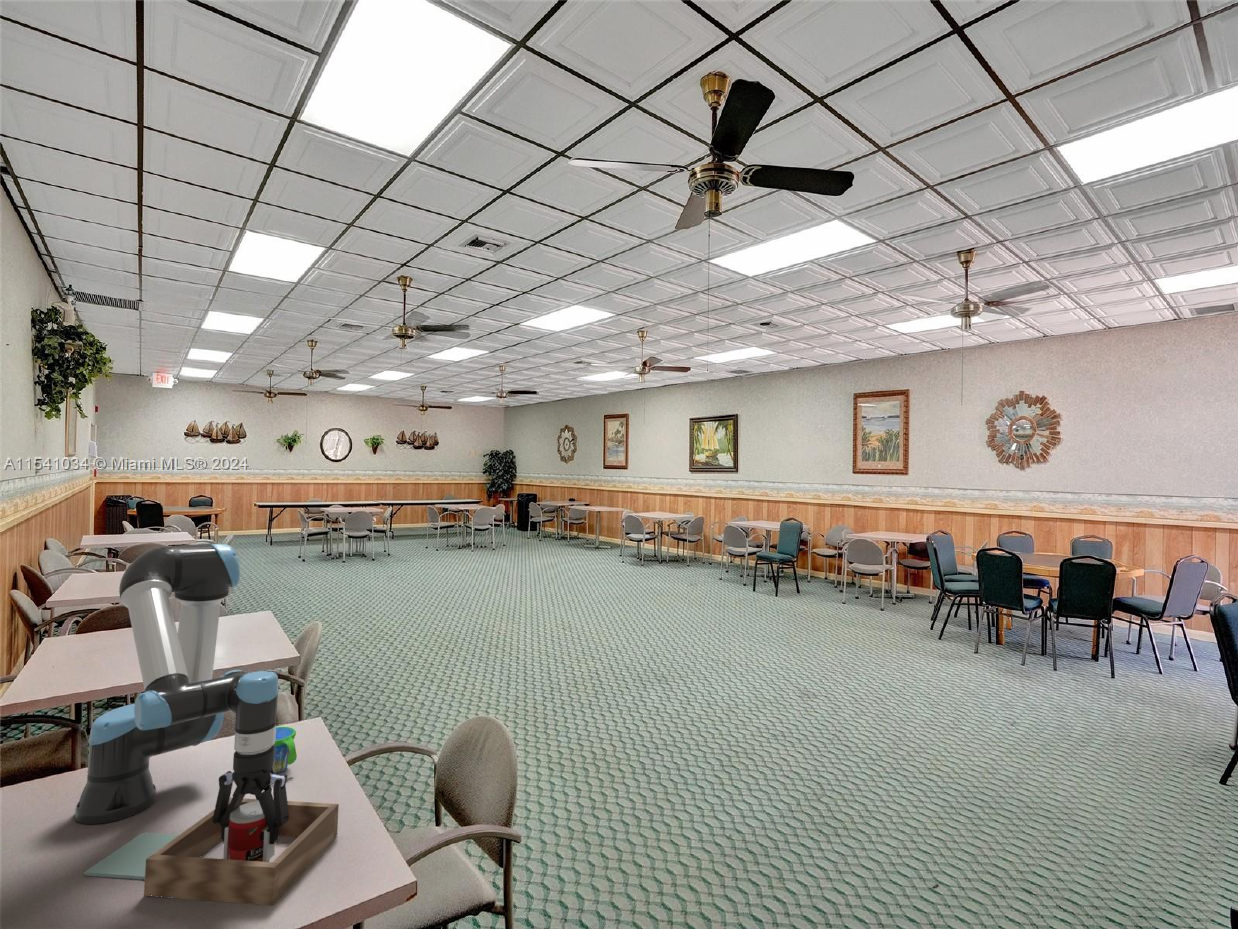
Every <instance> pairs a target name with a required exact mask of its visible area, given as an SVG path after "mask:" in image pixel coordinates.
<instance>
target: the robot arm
mask: <svg viewBox="0 0 1238 929" xmlns="http://www.w3.org/2000/svg"><path fill="white" fill-rule="evenodd" d="M240 570H241V569H240V564H239V559H238V555H237V553H236V551H235V549H234V548H233V547H232V546H231V545H230V544H226V543H201V544H188V545H186V544H185V545H171V546H170V545H165V546H163V545H162V546H158V547H154V548H152V549H149V550H147V551H145V552H143V553H142V554H140V555H139V556H138V557H136V558H135V559H134V560H133V561H132V562H131V563H130V564H129V566H128V567H127V568H126V569H125V571H124V573H123V575H122V577H121V579H120V583H119V587H118V588H119V590H118V592H119V597H120V598H119V599H120V602H121V604H122V606H123V607H125V608H127V609H128V614H129V620H130V625H131V629H132V633H133V638H134V639H133V640H134V644H135V648H136V649H135V650H136V653H137V660H138V664H139V667H140V674H141V678H142V683H143V689H144V692H141V693H139V694H138V695H137V696H136V698H135V701H134V703H132V704H128V705H123V706H120V707H116V708H114V709H112V710H109V711H107V712H105V713H102V715H100V716H99V717H97V718H96V719H94V721H93V722H92V724H91V728H90V732H89V733H90V734H89V738H88V744H89V747H88V760H87V761H88V762H87V774H86V775H87V777H86V783H85V786H84V788H83V790H82V791H81V792H82V793H81V795H80V798H79V800H78V802H77V804H76V805H75V811H74V820H75V821H76V822H78V823H79V824H83V825H97V824H98V825H99V824H106V823H111V822H115V821H119V820H122V819H126V818H128V817H129V818H130V817H131V816H134V815H136V814H138V813H140V812H142V811H144V810H145V809H147V808H149V807H150V806H151V805H153V803H155V800H156V798H157V787H156V785H155V784H154V783H153V778H152V774H151V771H150V758H152V757H154V756H155V757H156V756H159V755H163V754H165V753H166V754H167V753H171V752H173V751H177V750H182V749H185V748H189V747H196V746H198V745H201V744H203V743H205V742H209V741H211V740H213V739H214V738H215V737H217V735H218V734H219V733H220V731H221V727H222V726H223V722H224V716H225V713H227V712H231V711H232V712H234V714H235V726H234V753H233V763H232V770H233V772H232V771H231V770H229V771H228V770H227V772H225V773H224V774H221V775H220V776H219V777H218V787H219V789H218V793H217V797H216V802H215V805H214V806H215V807H214V809H213V810H214V815H213V820H212V821H213V823H215V824H216V823H219V824H220V825H221V827H222V832H221V842H223V857H222V859H228V838H229V821H230V814H231V812H233V811H234V810H236V809H237V808H238V807H239V806H240V805H241V802H242V800H243V798H245V796H246V795H248V794H250V795H252V796H255V799H257V800H259V803H260V806H261V808H262V811H263V814H264V816H265V820H266V823H267V826H268V828H267V829H266V830H264V847H263V862H269V861H270V860H271V858H273V857H274V856H275V850H276V843H277V842H278V841H279V827H281V826H282V825H284V824H285V823H286V822H287V821H288V820H289V812H288V803H287V801H288V796H287V786H286V785H287V780H288V775H287V774H286V773H283V774H282V775H279V774H274V771H273V763H274V755H275V746H274V743H275V737H276V727H277V713H278V712H277V710H278V694H279V689H280V688H279V677H278V674H277V673H276V672H274V671H267V670H259V671H258V670H257V671H253V672H252V671H251V672H248V671H244V670H241V669H233V670H229V671H227V672H225V673H224V674H222V675H220V676H219V677H216V678H213V674H214V673H213V672H214V667H215V666H214V664H215V654H216V647H217V639H218V632H219V631H218V630H219V620H220V611H221V602H222V601H223V600H225V599H226V598H228V596H229V592H230V588H234V587H236V586H237V585H239V581H240V574H241V573H240V572H241V571H240ZM172 594H174V599H175V600H176V601H178V602H179V603H180V610H179V617H178V618H179V619H178V625H177V626H178V629H177V626H176V622H175V618H174V615H173V614H174V613H173V609H172V606H171V601H170V597H171V595H172ZM233 783H234V784H235V786H236V787H235V789H234V791H233V794H232V797H231V793H232V788H233ZM271 783H272V784H271ZM272 788H273V789H272ZM272 791H273V792H272ZM230 798H232V800H231V802H230V804H229V806H228V803H229V799H230Z"/></svg>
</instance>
